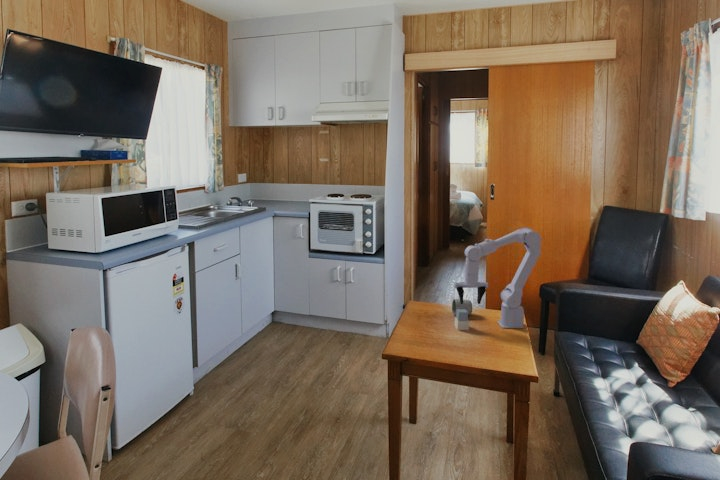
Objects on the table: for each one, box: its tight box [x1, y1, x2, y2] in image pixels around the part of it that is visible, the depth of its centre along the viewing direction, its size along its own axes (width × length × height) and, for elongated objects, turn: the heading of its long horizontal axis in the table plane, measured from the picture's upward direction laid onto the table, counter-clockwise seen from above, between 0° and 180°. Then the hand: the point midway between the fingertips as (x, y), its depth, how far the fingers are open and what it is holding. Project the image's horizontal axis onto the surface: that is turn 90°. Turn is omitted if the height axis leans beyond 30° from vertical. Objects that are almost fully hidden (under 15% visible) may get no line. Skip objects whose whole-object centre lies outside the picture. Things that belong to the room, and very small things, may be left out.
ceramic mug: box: [451, 298, 473, 316], centre depth 240 cm, size 11×8×8 cm
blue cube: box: [455, 309, 469, 321], centre depth 222 cm, size 4×4×4 cm
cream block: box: [454, 316, 470, 331], centre depth 223 cm, size 5×5×4 cm
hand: (470, 303), depth 224 cm, fingers open, 7 cm apart
